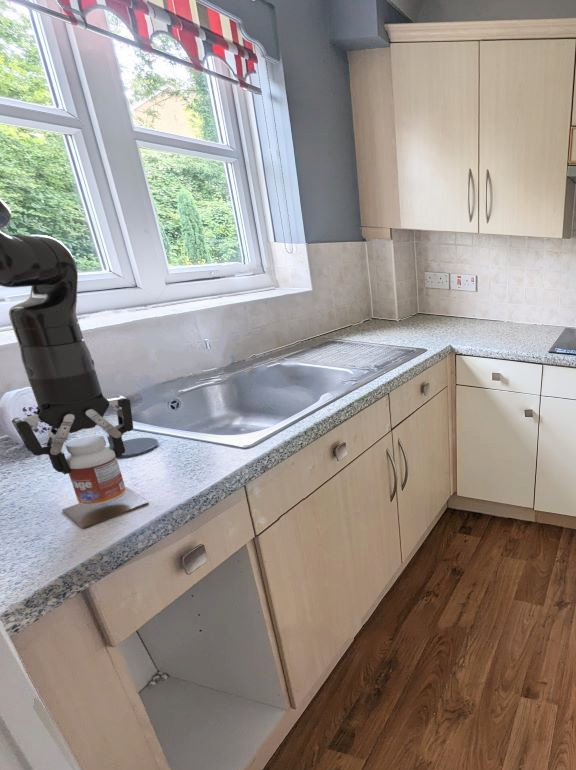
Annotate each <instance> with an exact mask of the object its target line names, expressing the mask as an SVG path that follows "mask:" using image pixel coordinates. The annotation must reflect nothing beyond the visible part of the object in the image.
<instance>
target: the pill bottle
mask: <svg viewBox="0 0 576 770" xmlns="http://www.w3.org/2000/svg"><path fill="white" fill-rule="evenodd" d="M109 447H110V446H107V441H106V439H105V436H104V435H101V434H89V435H88V434H87V435H82V436H79V437H75V438H73V439H70V440H69V441H66V443H65V448H66V451H67V452H68V454H69V455H67V457H65V458H66V461H67V464H68V467H69V469H70V473H68V476H69V479H70V483H71V484H72V487H73V491H74V493H75V496H76V499H77V502H78V504H79V503H80V504H81V505H84V506H98V505H103V504H107V503H110V502H112V501H115V500H117V499H118V498H120V497H121V496H123V495H124V493H125V491H126V489H125V487H126V485H125V481H124V478H123V475H122V471H121V469H120V468H121V467H120V465H119V462H118V458H116V455H115V452H114V450H113V449H111V448H109Z"/></svg>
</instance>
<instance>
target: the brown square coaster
mask: <svg viewBox="0 0 576 770" xmlns="http://www.w3.org/2000/svg"><path fill="white" fill-rule="evenodd" d="M125 489H126V491H125V493H124V495H123V496H121V497H120V498H118V499H117V500H115V501H112V502H110V503H107V504H103V505H98V506H84V505H81V504H80V503H79V502H78V503H77V504H73V505H70V506H68V507H65V508H62V509H61V512H63V513H64V514H65V515H66V516H67V517H68V518H70V519H71V520H72V521H73V522H74V523H75V524H76V525H77V526H78V527H80V529H82V530H85V529H88V528H91V527H92V526H95V525H98V524H100V523H103V522H106V521H108V520H111V519H114V518H116V517H118V516H121V515H125V514H127V513H129V512H132V511H134V510H137V509H140V508H143V507H146V506H147V505H149V504H150V503H149V501H147V500H146V499H145V498H143V497H142V496H140V495H139V494H138V493H136V492H135V491H133V490H132V489H130V488H129V487H127V486H125Z"/></svg>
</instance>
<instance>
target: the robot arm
mask: <svg viewBox="0 0 576 770" xmlns="http://www.w3.org/2000/svg"><path fill="white" fill-rule="evenodd" d="M11 221H12V212H11V210H10V208H9V207H8V205H7V204H6V203H5V202H4V201H3V200H2V199H1V198H0V287H3V288H12V289H15V288H27V287H30V295H29V298H28V299H26V300H24V301H22V302H19V303H17V304H14V305H13V306H11V307H10V308H9V311H8V316H9V320H10V324H11V327H12V330H13V333H14V335H15V338H16V342H17V344H18V347H19V352H20V358H21V363H22V365H23V369H24V371H25V373H26V377H27V379H28V382H29V384H30V388H31V390H32V394H33V396H34V399H35V402H36V404H37V410H36V413H35V414H32V415H29V416H25V417H14V418H12V420H11V424H12V425H13V427H14V429H15V430H16V432H17V434H18V435H19V437H20V439H21V441H22V442H23V444H24V446H25V447H26V449H27V451H28V452H30V453H32V454H33V455H34V456H37V457H39V456H42V455H46V456H47V455H48V457H49V461H50V463H51V466H52V468H53V469H54V470H55V471H56V472H57V473H61V474H63V475H69V473H70V469H69V467H68V464H67V461H66V458H67V457H66V456H65V453H64V452H63V451H62V449H63V447H64V444H65V442H67V439H68V437H69V434H74V433H77V432H79V431H81V430H87V429H93V428H96V427H99V429H101V430H102V431H103V432H105V433H106V434H107V436H106V438H107V442H108V445H109V447H110V448H111V449H113V450H114V452H115V455H116V458H117V459H121V458H120V457H122V454H123V453H125V447H124V444H123V441H124V440H123V438H122V437H123V435H124V434H125V433H127V432H131V431H133V430H134V421H133V413H132V406H131V405H132V404H131V400H130V399H129V398H127V397H125V396H124V395H117V396H116V397H114V398H106V396H104V395H103V392H102V388H101V385H100V382H99V377H98V374H97V371H96V368H95V362H94V359H93V358H92V355H91V352H90V350H89V348H88V346H87V344H86V342H85V339H84V336H83V333H82V329H81V326H80V322H79V318H78V316H77V305H78V304H77V303H78V285H79V283H78V282H79V281H78V280H79V271H78V266H77V263H76V259H75V257H74V256H73V254H72V253H71V251H70V250H69V249H68V248H67V246H65V244H63V243H62V242H61V241H60V240H57V239H56V238H54V237H51V236H48V235H44V234H43V235H42V234H6V233H3V232H2V231H1V230H2V229H4V228H5V227H6V226H8V225H9V224H10V222H11ZM110 406H111V408H112V410H115V411H116V415H117V416H116V417H117V423H118V424H117V425H115V426H113V424H112V423H110V422H109V421H108V420H107V419H106V418H104V416H105V414H106V412H107V411H108V409H109V407H110ZM39 422H42V423H44V424H46V425H48V426H50V428H49V431H48V434H47V436H48V437H47V440H46V443H45V444H41V442H40V441H39V439H38V438H37V436H36V434H35V432H34V431H36V430H37V429H38V423H39Z"/></svg>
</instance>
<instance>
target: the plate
mask: <svg viewBox="0 0 576 770" xmlns="http://www.w3.org/2000/svg"><path fill="white" fill-rule="evenodd" d="M122 441H123V444H124V447H125V453H123V454H122V457H120V458H119V459H124V458H130V457H131V458H132V457H136V456H140V455H143V454H146V453H148V452H151V451H154V449H156V448H157V447H158V446H159V440H158V439H157V438H154V437H136V438H131V439H126V440H125V439H124V440H122ZM108 447H109V448H110V446H108Z"/></svg>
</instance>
